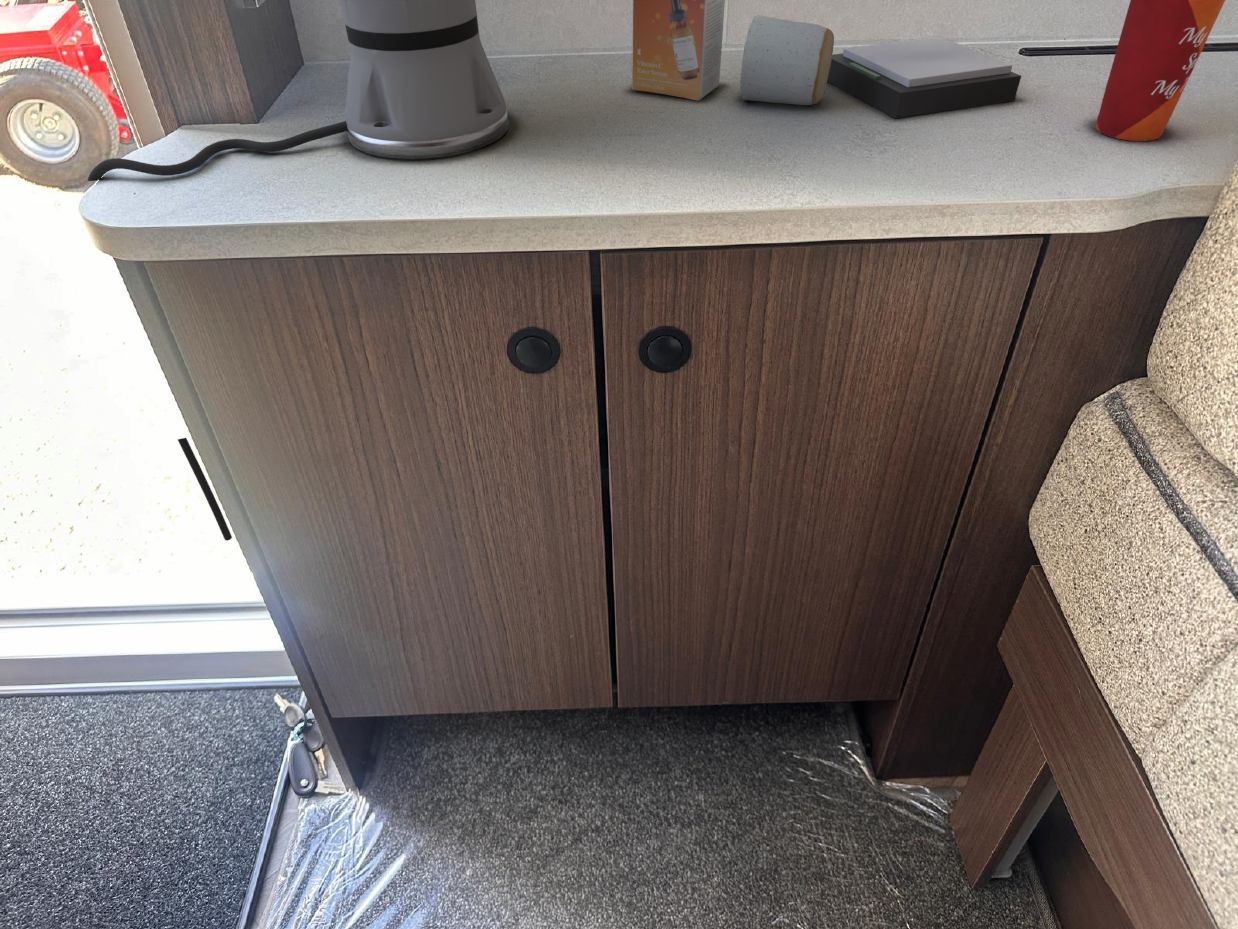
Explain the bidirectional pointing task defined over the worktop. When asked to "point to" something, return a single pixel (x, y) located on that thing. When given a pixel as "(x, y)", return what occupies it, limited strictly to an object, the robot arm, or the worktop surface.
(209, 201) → the worktop surface
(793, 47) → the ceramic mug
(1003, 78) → the scale
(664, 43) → the small box
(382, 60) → the robot arm
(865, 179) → the worktop surface
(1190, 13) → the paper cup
